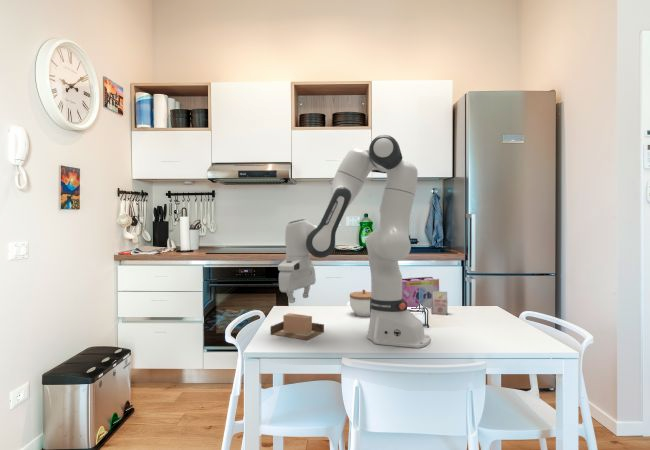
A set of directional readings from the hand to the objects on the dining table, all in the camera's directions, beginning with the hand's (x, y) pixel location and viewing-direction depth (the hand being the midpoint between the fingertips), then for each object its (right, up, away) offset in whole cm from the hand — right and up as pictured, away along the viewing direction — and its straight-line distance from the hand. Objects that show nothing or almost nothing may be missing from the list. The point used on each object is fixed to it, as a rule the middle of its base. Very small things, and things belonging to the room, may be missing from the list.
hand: (299, 300), depth 153 cm
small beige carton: (+61, -12, +31) cm, 70 cm away
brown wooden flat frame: (-1, -12, 0) cm, 12 cm away
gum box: (+53, -12, +45) cm, 71 cm away
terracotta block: (-1, -12, 0) cm, 12 cm away
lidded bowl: (+27, -12, +30) cm, 42 cm away
